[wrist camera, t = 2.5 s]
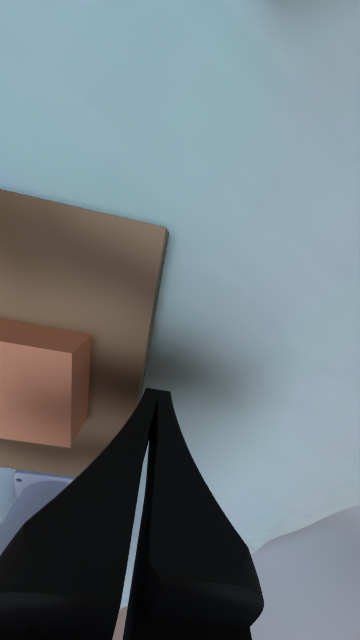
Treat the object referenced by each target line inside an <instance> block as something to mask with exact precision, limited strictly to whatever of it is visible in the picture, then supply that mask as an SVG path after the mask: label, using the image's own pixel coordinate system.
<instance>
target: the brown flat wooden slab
mask: <svg viewBox="0 0 360 640" xmlns="http://www.w3.org/2000/svg"><path fill="white" fill-rule="evenodd" d="M168 235H169V232H168V230H167V228H166V227H162V226H157V225H153V224H149V223H144V222H140V221H136V220H131V219H127V218H123V217H118V216H114V215H109V214H105V213H101V212H96V211H92V210H88V209H83V208H79V207H75V206H70V205H66V204H62V203H57V202H53V201H49V200H44V199H40V198H36V197H31V196H27V195H23V194H18V193H14V192H10V191H5V190H1V189H0V318H2V319H7V320H13V321H18V322H24V323H29V324H35V325H40V326H46V327H51V328H57V329H62V330H67V331H73V332H78V333H84V334H89V335H92V338H91V356H90V374H89V392H88V411H87V419H86V421H85V423H84V424H83V426H82V428H81V430H80V432H79V433H78V435H77V437H76V439H75V441H74V442H73V444H72V446H71V448H67V447H60V446H52V445H45V444H38V443H31V442H23V441H16V440H9V439H1V438H0V467H5V468H13V469H21V470H28V471H36V472H44V473H52V474H60V475H68V476H76V477H77V476H78V475H79V474H81V473H82V472H83V471H84V470H85V469H86V468H87V467H88V466H89V465H90V464H91V463H92V462H93V461H94V460H95V458H96V457H97V456H98V455H99V454H100V453H101V452H102V451H103V450H104V449H105V448H106V447H107V445H108V444H109V443H110V442H111V441H112V440H113V439H114V437H115V436H116V435H117V434H118V432H119V431H120V430H121V428H122V427H123V426H124V425H125V423H126V422H127V421H128V419H129V418H130V416H131V415H132V413H133V412H134V410H135V409H136V407H137V406H138V404H139V402H140V398H141V392H142V386H143V380H144V374H145V368H146V363H147V357H148V351H149V345H150V339H151V334H152V328H153V322H154V316H155V310H156V304H157V299H158V293H159V287H160V281H161V275H162V270H163V264H164V258H165V252H166V246H167V240H168Z"/></svg>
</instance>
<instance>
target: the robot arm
mask: <svg viewBox="0 0 360 640" xmlns="http://www.w3.org/2000/svg"><path fill="white" fill-rule="evenodd" d="M149 437H150V438H149ZM148 441H149V451H148V464H147V477H146V488H145V497H144V504H143V511H142V517H141V524H140V531H139V537H138V544H137V551H136V557H135V564H134V570H133V577H132V583H131V590H130V596H129V602H128V609H127V616H126V622H125V628H124V635H123V640H252V638H251V632H250V626H251V625H252V624H253V623H254V622H255V621H256V619H257V618H258V617H259V616H260V614H261V612H262V611H263V607H264V600H263V596H262V591H261V587H260V583H259V579H258V576H257V573H256V570H255V567H254V564H253V561H252V558H251V555H250V552H249V549H248V547H247V545H246V544H245V543H244V541H243V540H242V538H241V537H240V536H239V534H238V533H237V531H236V530H235V529H234V527H233V526H232V524H231V523H230V521H229V520H228V518H227V517H226V515H225V514H224V512H223V511H222V509H221V508H220V506H219V504H218V503H217V501H216V500H215V498H214V496H213V495H212V493H211V491H210V490H209V488H208V486H207V484H206V483H205V481H204V479H203V478H202V476H201V474H200V472H199V470H198V468H197V466H196V464H195V462H194V460H193V458H192V456H191V454H190V452H189V449H188V447H187V445H186V442H185V440H184V437H183V435H182V432H181V430H180V427H179V424H178V421H177V418H176V414H175V411H174V407H173V403H172V398H171V393H170V392H169V391H163V390H157V389H151V388H147V389H146V390H145V392H144V395H143V397H142V399H141V400H140V402H139V404H138V406H137V407H136V409H135V410H134V412H133V413H132V415H131V416H130V418H129V419H128V421H127V422H126V423H125V425H124V426H123V427H122V428H121V430H120V431H119V432H118V434H117V435H116V436H115V437H114V439H113V440H112V441H111V442H110V443H109V444H108V445H107V447H106V448H105V449H104V450H103V451H102V452H101V453H100V454H99V455H98V456H97V457H96V458H95V460H94V461H93V462H92V463H91V464H90V465H89V466H88V467H87V468H86V469H85V470H84V471H83V472H82V473H81V474H79V475H78V476H77V477H76V476H68V475H60V474H52V473H44V472H36V471H28V470H21V469H17V470H16V471H15V473H14V475H13V477H14V484H15V491H16V498H17V501H16V502H15V504H14V505H13V507H12V508H11V510H10V511H9V513H8V514H7V516H6V517H5V519H4V521H3V522H2V524H1V525H0V640H112V638H113V634H114V629H115V626H116V621H117V617H118V613H119V609H120V604H121V599H122V593H123V587H124V580H125V574H126V568H127V562H128V555H129V549H130V542H131V536H132V529H133V523H134V516H135V510H136V503H137V497H138V491H139V484H140V478H141V472H142V466H143V461H144V457H145V453H146V449H147V445H148Z"/></svg>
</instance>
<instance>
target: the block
mask: <svg viewBox="0 0 360 640" xmlns="http://www.w3.org/2000/svg"><path fill="white" fill-rule="evenodd" d="M91 338H92V335H89V334H84V333H78V332H73V331H67V330H62V329H57V328H51V327H46V326H40V325H35V324H29V323H24V322H18V321H13V320H7V319H2V318H0V438H1V439H9V440H16V441H23V442H31V443H38V444H45V445H52V446H60V447H67V448H71V446H72V444H73V442H74V441H75V439H76V437H77V435H78V433H79V432H80V430H81V428H82V426H83V424H84V423H85V421H86V419H87V411H88V392H89V374H90V356H91Z"/></svg>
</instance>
